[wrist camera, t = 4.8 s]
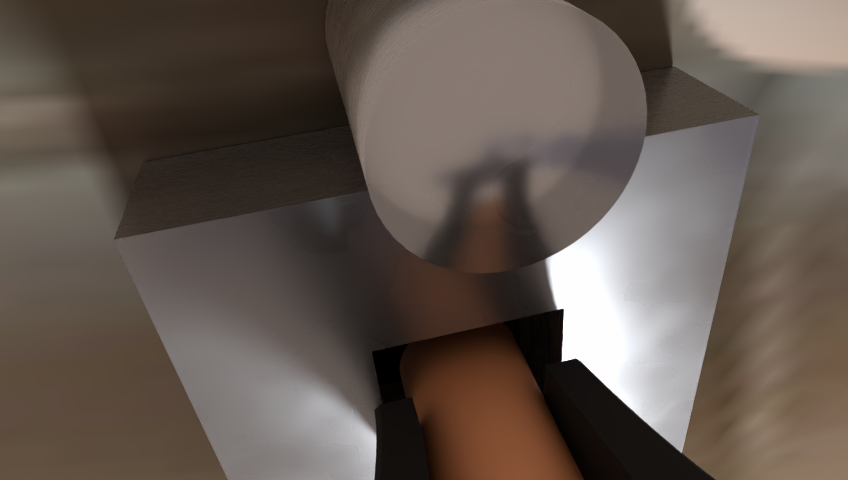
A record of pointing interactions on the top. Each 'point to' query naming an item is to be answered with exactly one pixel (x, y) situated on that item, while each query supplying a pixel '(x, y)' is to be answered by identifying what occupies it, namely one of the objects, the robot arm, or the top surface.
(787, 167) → the top surface
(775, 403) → the top surface
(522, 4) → the slotted grey box
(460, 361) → the sausage
